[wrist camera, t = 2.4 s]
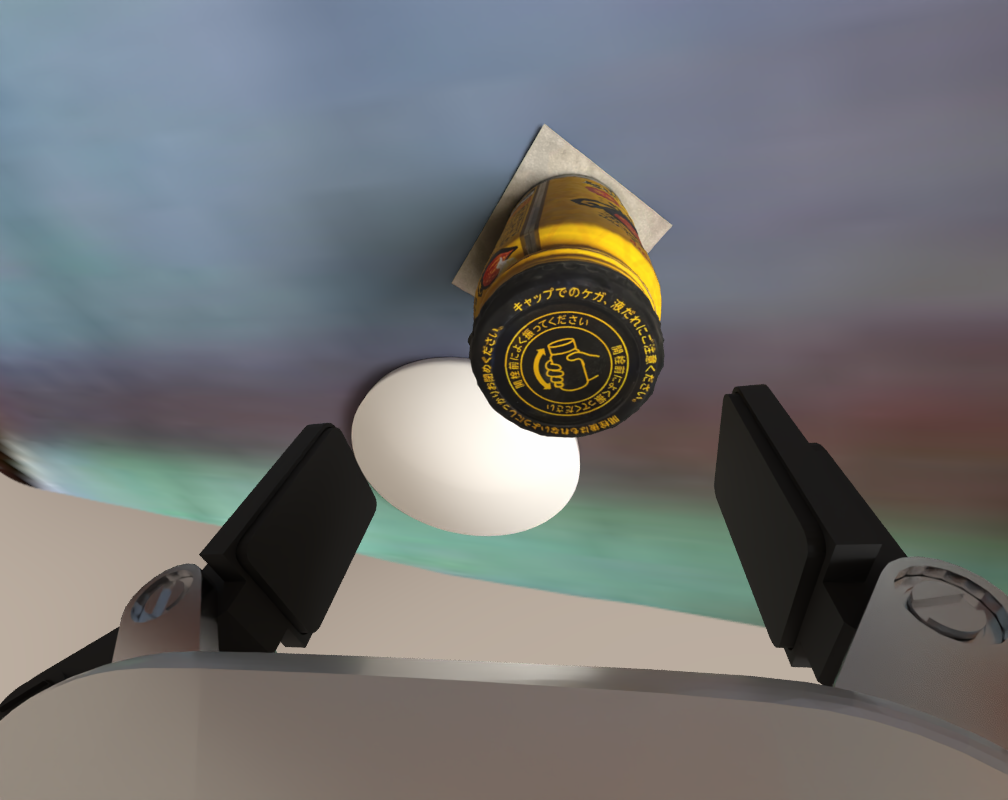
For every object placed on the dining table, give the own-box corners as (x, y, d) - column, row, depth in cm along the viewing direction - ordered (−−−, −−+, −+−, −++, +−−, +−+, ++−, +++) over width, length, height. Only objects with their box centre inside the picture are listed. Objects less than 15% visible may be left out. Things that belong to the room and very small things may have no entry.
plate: (319, 370, 27) (311, 379, 27) (565, 343, 24) (565, 351, 23) (400, 527, 36) (397, 536, 35) (588, 524, 33) (589, 534, 32)
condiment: (671, 224, 20) (765, 349, 10) (561, 352, 24) (553, 520, 15) (544, 122, 18) (510, 155, 8) (452, 280, 23) (363, 418, 13)
